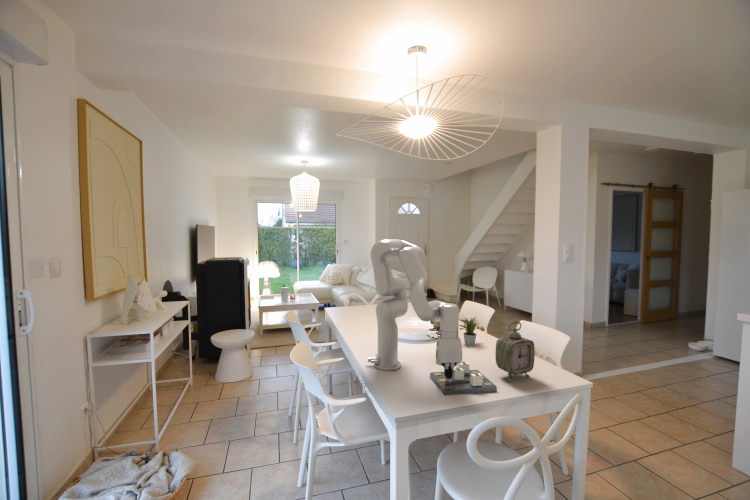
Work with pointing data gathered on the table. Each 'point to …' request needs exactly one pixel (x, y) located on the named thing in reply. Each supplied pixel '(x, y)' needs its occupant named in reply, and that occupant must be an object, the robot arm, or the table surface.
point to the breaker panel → (461, 384)
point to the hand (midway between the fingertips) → (448, 377)
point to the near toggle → (476, 379)
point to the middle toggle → (458, 374)
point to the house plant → (469, 332)
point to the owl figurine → (435, 324)
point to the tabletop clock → (515, 354)
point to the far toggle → (464, 366)
